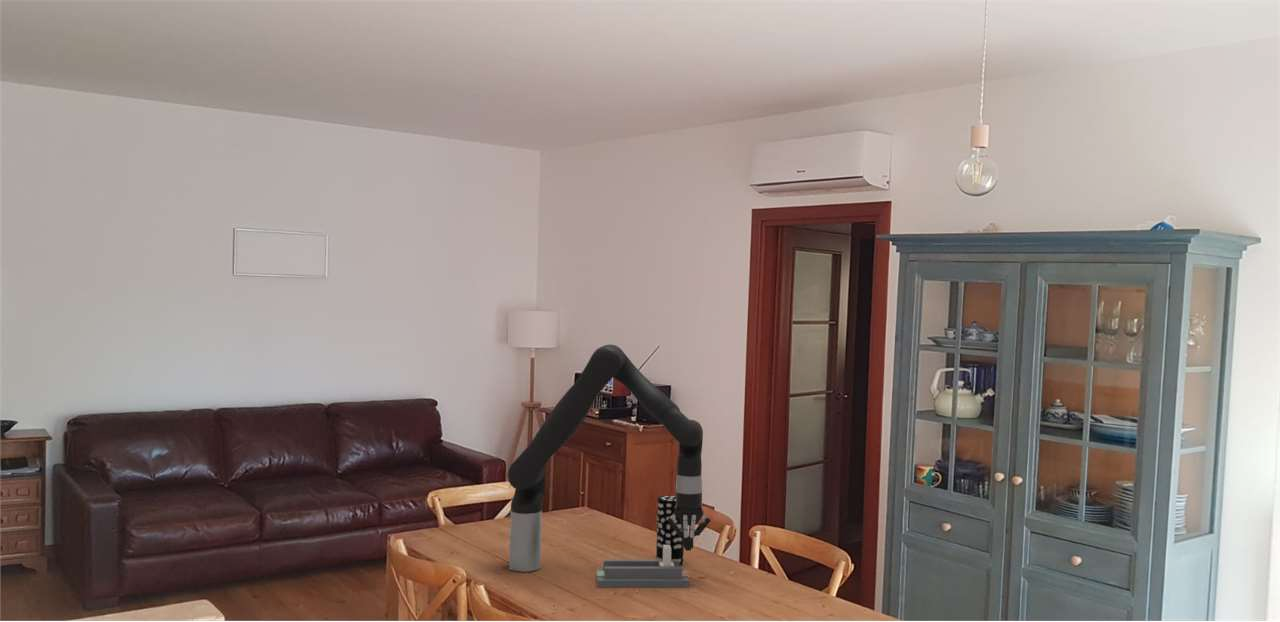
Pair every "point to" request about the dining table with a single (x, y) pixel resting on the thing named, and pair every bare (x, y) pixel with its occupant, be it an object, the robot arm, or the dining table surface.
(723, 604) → the dining table surface
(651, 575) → the breaker panel
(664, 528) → the spotted tube
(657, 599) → the dining table surface
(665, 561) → the breaker handle
